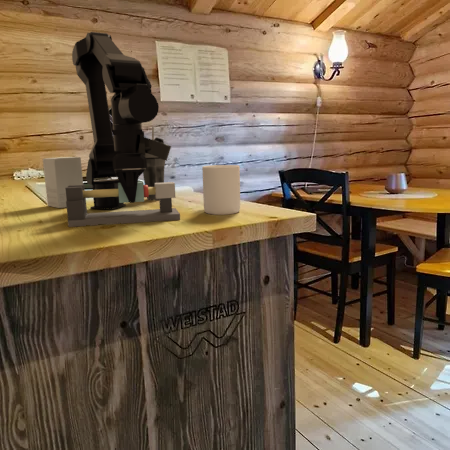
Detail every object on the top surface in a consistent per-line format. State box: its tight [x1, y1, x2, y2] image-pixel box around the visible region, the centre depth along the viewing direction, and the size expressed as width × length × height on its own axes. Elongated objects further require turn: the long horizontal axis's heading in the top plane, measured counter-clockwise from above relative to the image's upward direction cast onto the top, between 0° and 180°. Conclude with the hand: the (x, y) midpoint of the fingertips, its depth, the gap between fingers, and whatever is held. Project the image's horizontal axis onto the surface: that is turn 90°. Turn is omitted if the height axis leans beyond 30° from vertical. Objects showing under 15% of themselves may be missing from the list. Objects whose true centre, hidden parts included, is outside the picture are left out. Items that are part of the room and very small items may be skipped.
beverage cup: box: [142, 126, 166, 201], centre depth 117 cm, size 7×7×20 cm
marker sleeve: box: [118, 181, 145, 204], centre depth 88 cm, size 5×4×4 cm
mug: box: [201, 164, 241, 216], centre depth 96 cm, size 12×8×10 cm
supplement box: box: [42, 156, 84, 209], centre depth 110 cm, size 7×7×13 cm
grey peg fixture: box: [65, 181, 181, 228], centre depth 88 cm, size 22×8×8 cm, turn 103°
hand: (132, 201), depth 88 cm, fingers closed on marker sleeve, 4 cm apart
